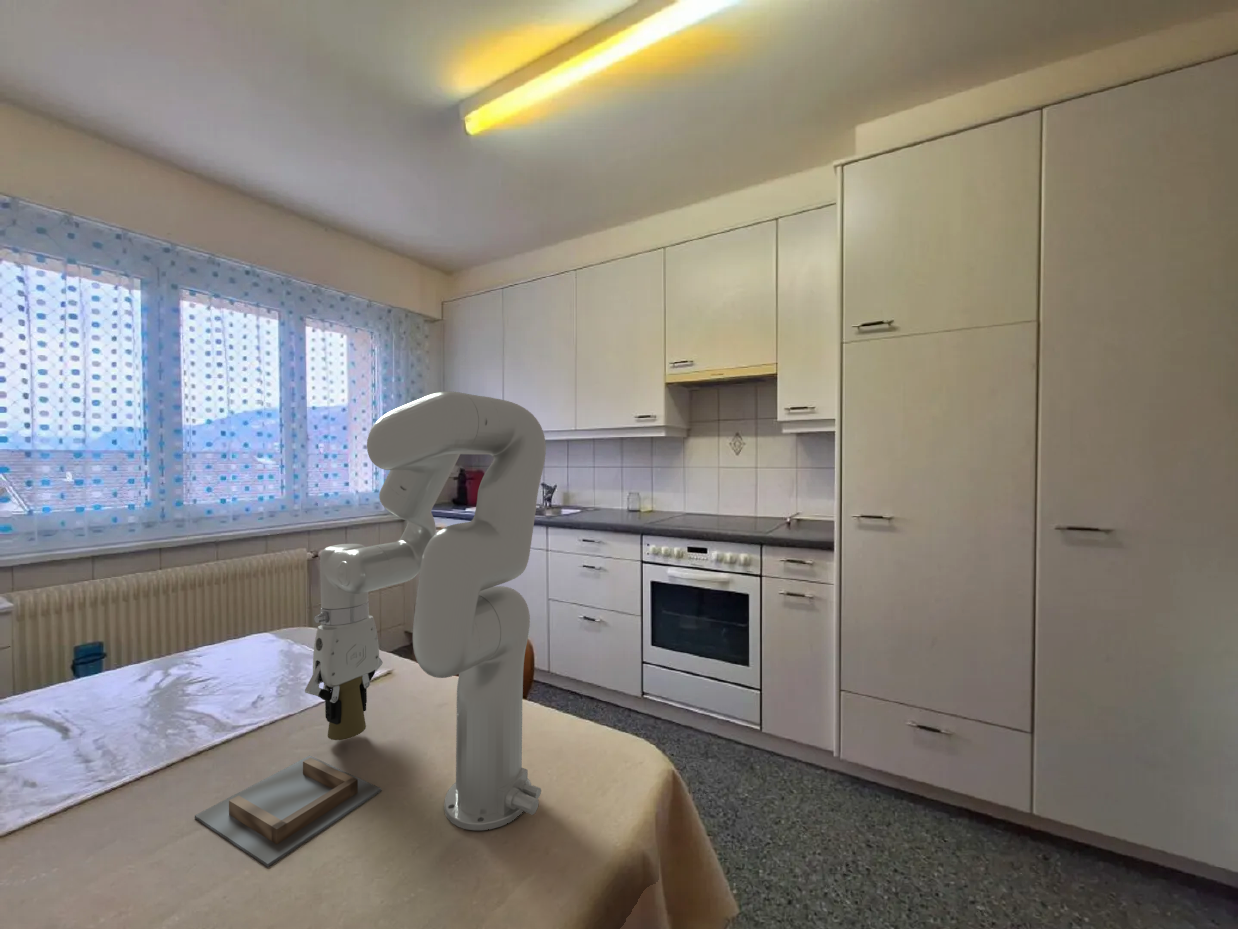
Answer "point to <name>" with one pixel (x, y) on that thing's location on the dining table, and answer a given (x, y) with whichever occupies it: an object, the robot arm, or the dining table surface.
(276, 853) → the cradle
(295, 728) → the dining table surface
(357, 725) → the cork
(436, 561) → the robot arm
